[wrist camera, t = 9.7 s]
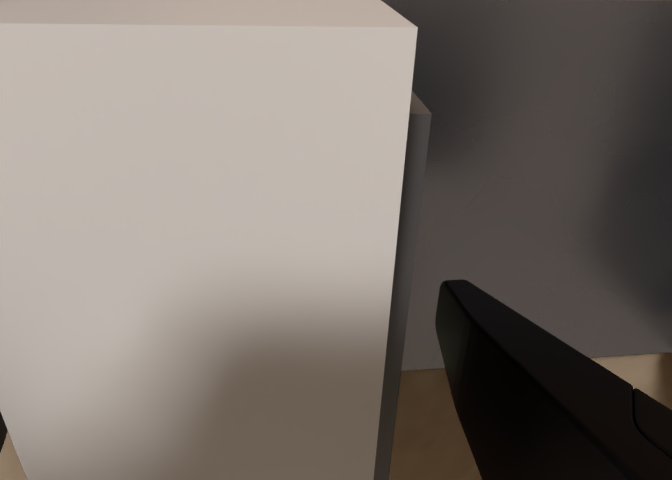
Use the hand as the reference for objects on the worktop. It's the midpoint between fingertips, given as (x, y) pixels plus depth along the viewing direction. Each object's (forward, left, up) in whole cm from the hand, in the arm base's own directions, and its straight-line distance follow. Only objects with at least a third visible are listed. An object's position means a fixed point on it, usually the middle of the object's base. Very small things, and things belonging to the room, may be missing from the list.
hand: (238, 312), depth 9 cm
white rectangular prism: (0, 0, -3) cm, 3 cm away
